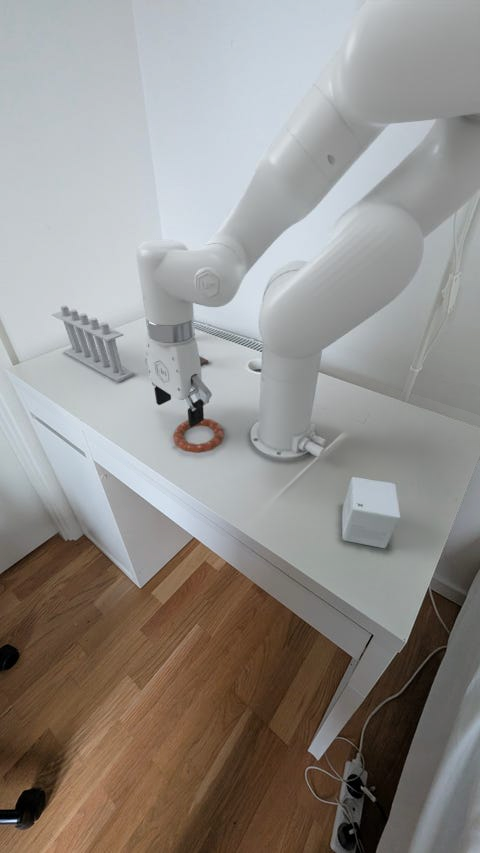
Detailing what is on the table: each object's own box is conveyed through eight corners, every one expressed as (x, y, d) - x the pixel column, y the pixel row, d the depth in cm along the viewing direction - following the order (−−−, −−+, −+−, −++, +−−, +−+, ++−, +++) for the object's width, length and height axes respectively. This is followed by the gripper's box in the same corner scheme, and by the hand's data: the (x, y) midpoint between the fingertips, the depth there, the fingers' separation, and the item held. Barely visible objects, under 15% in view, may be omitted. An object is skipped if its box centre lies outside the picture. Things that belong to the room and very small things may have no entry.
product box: (385, 550, 47) (401, 518, 43) (341, 541, 48) (351, 509, 44) (382, 515, 52) (396, 483, 47) (341, 507, 53) (351, 475, 48)
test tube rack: (133, 375, 85) (121, 324, 76) (118, 382, 82) (104, 330, 74) (79, 347, 97) (64, 301, 89) (65, 353, 94) (48, 305, 86)
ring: (233, 437, 66) (233, 430, 65) (197, 463, 61) (196, 456, 59) (201, 417, 71) (200, 410, 70) (164, 439, 66) (162, 432, 65)
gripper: (121, 318, 57) (137, 401, 68) (188, 353, 48) (194, 442, 59) (157, 307, 61) (167, 387, 72) (225, 337, 52) (225, 423, 63)
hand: (179, 412), depth 65 cm, fingers open, 9 cm apart
